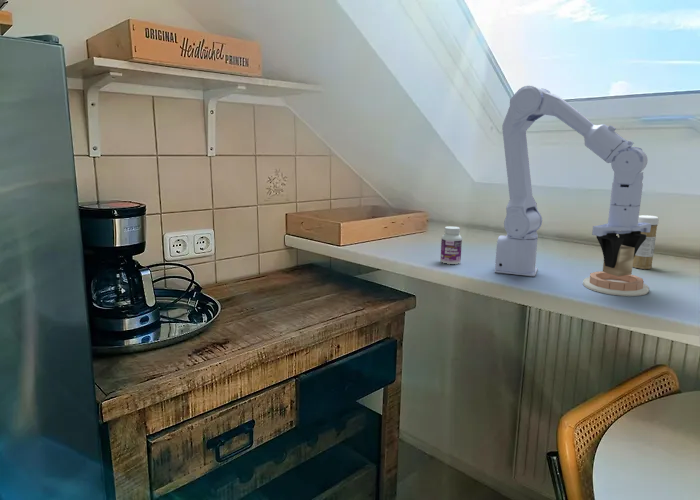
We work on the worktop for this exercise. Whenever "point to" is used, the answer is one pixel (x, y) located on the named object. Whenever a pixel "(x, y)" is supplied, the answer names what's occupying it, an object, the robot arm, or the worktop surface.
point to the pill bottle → (451, 245)
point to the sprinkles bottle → (646, 244)
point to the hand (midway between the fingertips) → (617, 265)
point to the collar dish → (616, 284)
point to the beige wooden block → (622, 262)
